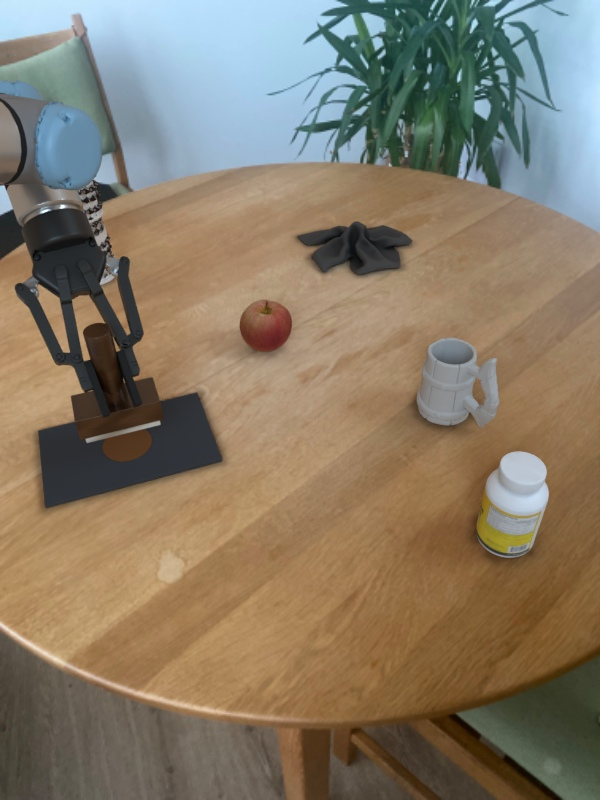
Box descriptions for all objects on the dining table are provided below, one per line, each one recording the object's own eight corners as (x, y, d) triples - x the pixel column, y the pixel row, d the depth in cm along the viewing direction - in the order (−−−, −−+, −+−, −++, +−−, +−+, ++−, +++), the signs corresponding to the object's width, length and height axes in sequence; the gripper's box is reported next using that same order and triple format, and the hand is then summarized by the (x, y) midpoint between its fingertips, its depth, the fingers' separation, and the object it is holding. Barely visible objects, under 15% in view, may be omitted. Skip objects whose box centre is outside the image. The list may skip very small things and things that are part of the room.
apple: (288, 327, 109) (287, 284, 104) (296, 357, 103) (294, 313, 98) (239, 332, 108) (235, 289, 103) (244, 362, 102) (239, 319, 97)
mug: (439, 383, 97) (450, 313, 90) (508, 424, 91) (525, 353, 83) (403, 407, 94) (411, 336, 86) (472, 452, 87) (487, 380, 79)
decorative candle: (108, 257, 128) (77, 121, 111) (127, 278, 122) (96, 138, 105) (61, 271, 124) (21, 133, 108) (77, 293, 118) (37, 151, 102)
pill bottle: (505, 506, 80) (525, 436, 72) (545, 545, 76) (570, 475, 68) (462, 528, 78) (477, 458, 70) (501, 570, 73) (521, 500, 66)
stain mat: (46, 508, 81) (44, 504, 81) (39, 433, 91) (37, 429, 91) (222, 461, 87) (221, 457, 86) (197, 395, 97) (197, 391, 96)
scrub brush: (82, 446, 81) (51, 353, 71) (78, 419, 84) (48, 327, 75) (165, 425, 83) (145, 332, 74) (157, 400, 87) (138, 309, 77)
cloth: (414, 231, 133) (417, 201, 129) (405, 280, 119) (408, 248, 115) (303, 223, 136) (303, 194, 132) (282, 269, 123) (281, 238, 119)
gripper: (118, 216, 84) (183, 392, 84) (-16, 247, 79) (53, 436, 78) (122, 191, 77) (193, 383, 77) (-25, 224, 72) (50, 431, 71)
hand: (122, 410), depth 78 cm, fingers closed on scrub brush, 3 cm apart
